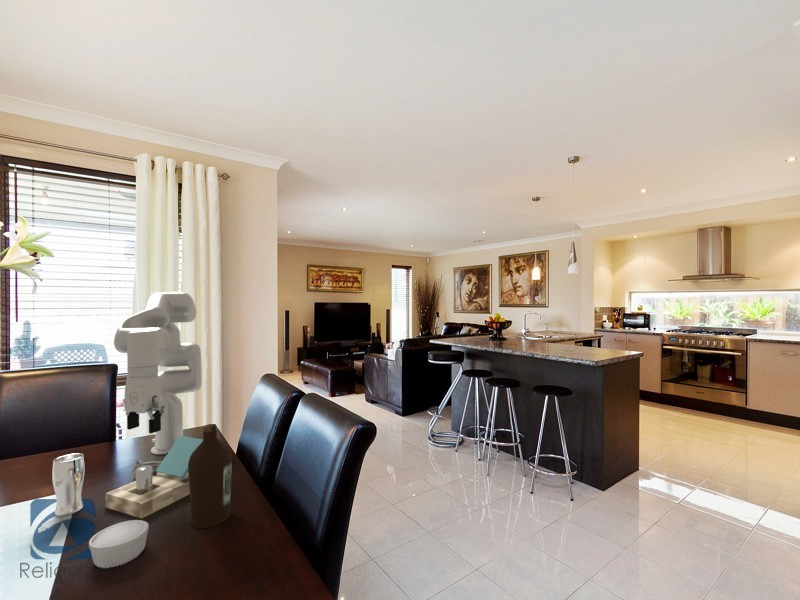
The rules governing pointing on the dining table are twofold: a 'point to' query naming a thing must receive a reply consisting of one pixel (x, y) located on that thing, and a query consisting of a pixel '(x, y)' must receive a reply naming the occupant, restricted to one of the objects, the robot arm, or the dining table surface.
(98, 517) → the dining table surface
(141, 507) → the wooden block
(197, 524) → the olive oil
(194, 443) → the latch flap
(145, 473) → the steel peg
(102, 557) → the ramekin
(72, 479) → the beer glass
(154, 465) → the caliper
